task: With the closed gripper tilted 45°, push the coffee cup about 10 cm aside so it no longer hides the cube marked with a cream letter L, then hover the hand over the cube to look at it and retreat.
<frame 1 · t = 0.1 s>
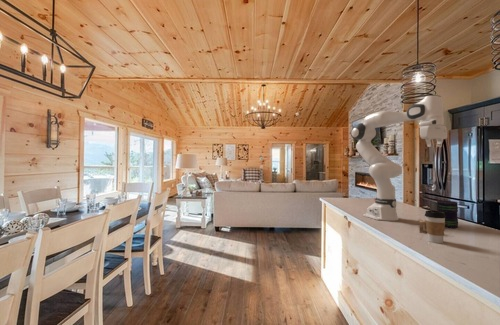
hand: (434, 146, 137), 48 cm above the table, tool pointing down, fingers open, 8 cm apart
storage jar: (447, 226, 143), on the table
coffee cup: (435, 241, 118), on the table
lettered cube: (426, 232, 133), on the table
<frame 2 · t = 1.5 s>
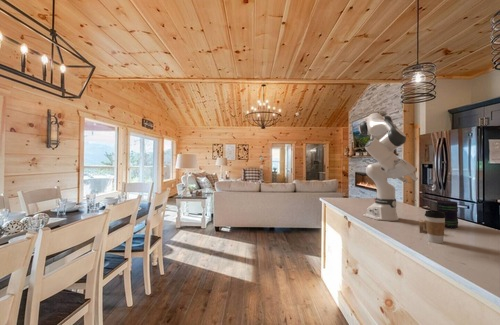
hand: (411, 181, 126), 29 cm above the table, tool tilted 40°, fingers open, 8 cm apart
nothing on the table moved.
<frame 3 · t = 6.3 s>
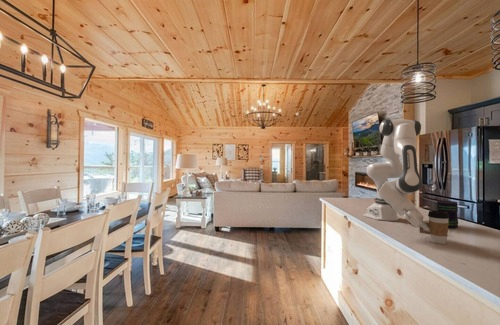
hand: (428, 229, 119), 5 cm above the table, tool tilted 45°, fingers closed
coffee cup: (438, 242, 117), on the table
everything else where it was.
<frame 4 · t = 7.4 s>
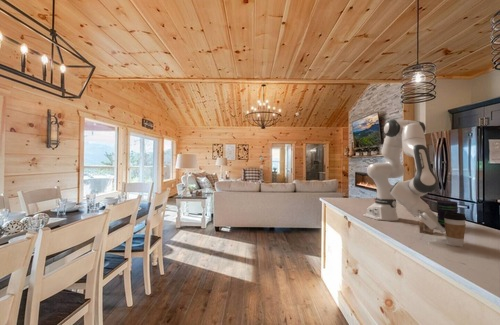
hand: (443, 231, 115), 5 cm above the table, tool tilted 45°, fingers closed, pressing on coffee cup
coffee cup: (455, 244, 113), on the table, touching gripper
everything else where it was.
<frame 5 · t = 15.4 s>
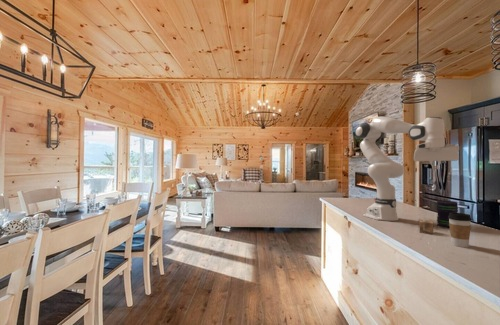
hand: (435, 169, 135), 35 cm above the table, tool pointing down, fingers closed
coffee cup: (460, 245, 112), on the table
everything else where it was.
at the end: coffee cup moved 9.1 cm from its start; coffee cup tilted 0°; lettered cube moved 0.1 cm from its start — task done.
